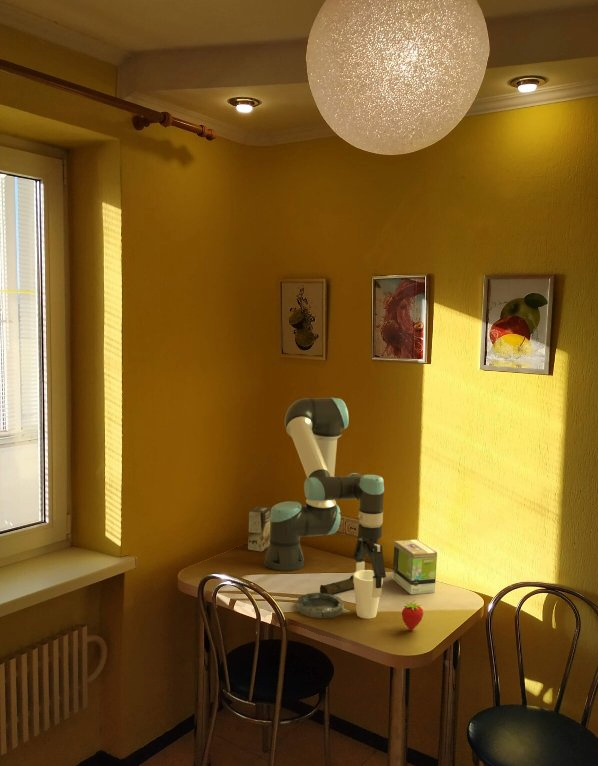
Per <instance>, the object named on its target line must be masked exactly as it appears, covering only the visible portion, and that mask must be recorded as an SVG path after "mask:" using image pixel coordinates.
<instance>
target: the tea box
mask: <svg viewBox="0 0 598 766" xmlns="http://www.w3.org/2000/svg"><path fill="white" fill-rule="evenodd" d="M437 560H438V552H437V551H436V550H435V549H433V548H431V547H430V546H429V545H427V544H425V543H424V542H422V541H421V540H419V539H407V540H394V544H393V564H392V580H393V581H395V583H396V584H398V585H399V586H400V587H401V588H403V589H404V590H405V591H406V592H407V593H408V594H410V595H422V594H431V593H435V592H436V579H437V578H436V577H437V564H438V561H437Z"/></svg>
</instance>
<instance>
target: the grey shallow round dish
mask: <svg viewBox="0 0 598 766" xmlns="http://www.w3.org/2000/svg"><path fill="white" fill-rule="evenodd" d="M296 609H297V611H298V612H299V614H302V615H304V616H305V617H306V616H307V617H309V618H314V619H322V620H323V619H331V618H335V617H337V616H339V615H341V614H343V612H344V610H345V602H344V600H342V598H340V597H338V596H336V595H333V594H325V593H320V592H314V593H313V592H312V593H306V594H304V595H300V596H299V597H298V599H297V600H296Z"/></svg>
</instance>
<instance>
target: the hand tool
mask: <svg viewBox="0 0 598 766" xmlns="http://www.w3.org/2000/svg"><path fill="white" fill-rule="evenodd" d="M353 578H354V574H353V575H351V576H349V578H347V579H343V580H339V581H336V582H332V583H326V584H324V585H323V584H320V586H319V593H325V594H331V595H333V594H335V593H340V592H343V591H347V590H350V589H352V590H355V589H354V583H353Z"/></svg>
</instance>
